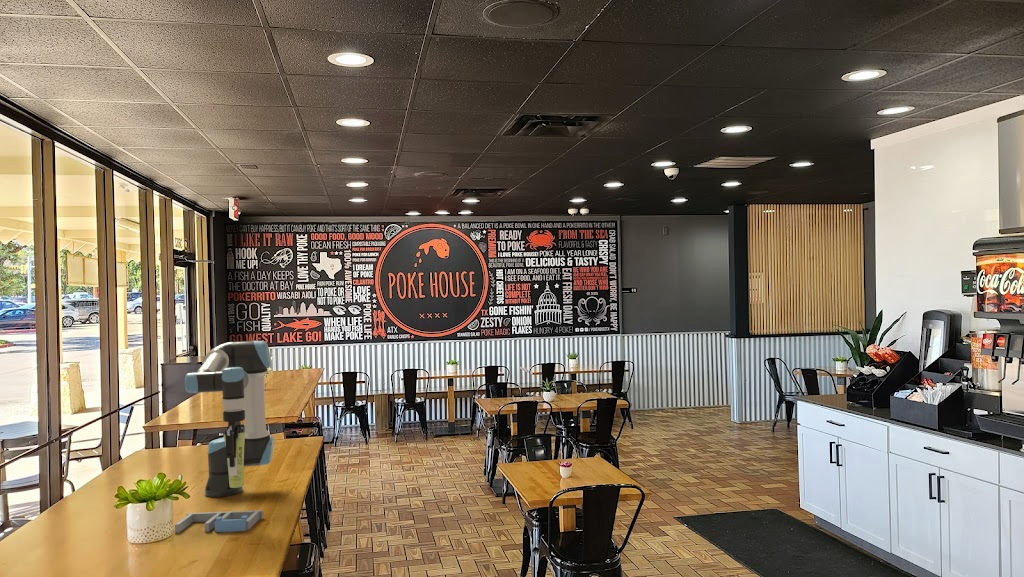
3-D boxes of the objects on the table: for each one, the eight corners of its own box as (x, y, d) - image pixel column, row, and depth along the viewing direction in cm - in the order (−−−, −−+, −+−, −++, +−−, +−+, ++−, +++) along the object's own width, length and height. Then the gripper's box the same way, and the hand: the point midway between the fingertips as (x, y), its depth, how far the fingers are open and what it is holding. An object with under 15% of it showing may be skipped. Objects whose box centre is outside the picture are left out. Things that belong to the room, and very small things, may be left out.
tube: (234, 489, 268) (232, 435, 269) (224, 487, 271) (223, 434, 271) (247, 485, 273) (245, 432, 274) (237, 484, 276) (236, 431, 276)
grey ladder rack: (188, 521, 280) (187, 508, 280) (263, 518, 281) (262, 505, 281) (170, 533, 265) (170, 520, 265) (250, 530, 266) (250, 517, 266)
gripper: (231, 406, 281) (233, 468, 281) (214, 414, 264) (216, 480, 263) (252, 406, 282) (253, 467, 281) (236, 413, 264) (238, 479, 264)
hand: (235, 473), depth 272 cm, fingers closed on tube, 5 cm apart
